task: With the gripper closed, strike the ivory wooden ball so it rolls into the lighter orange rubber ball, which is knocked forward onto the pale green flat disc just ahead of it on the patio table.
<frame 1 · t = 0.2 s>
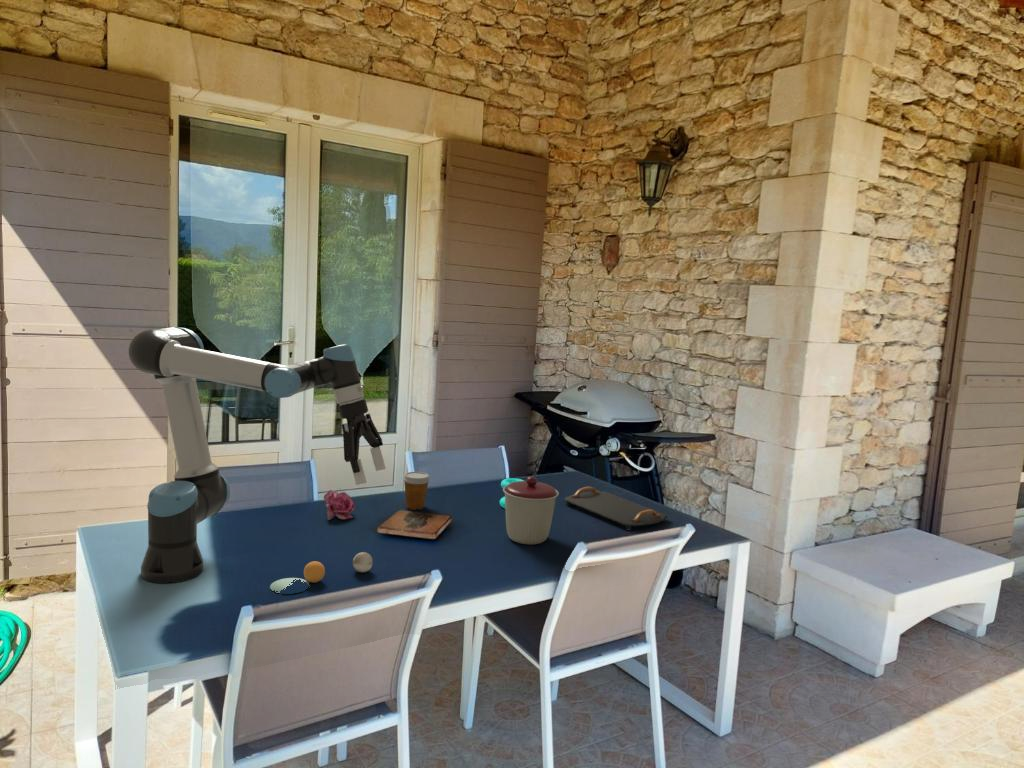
hand: (371, 476, 195), 28 cm above the table, tool tilted 20°, fingers open, 13 cm apart
serving board: (613, 514, 267), on the table
orange ball: (314, 571, 190), on the table
canister: (527, 539, 233), on the table
pale green flat disc: (290, 586, 187), on the table
disposable coffee cup: (414, 507, 258), on the table
flower: (339, 517, 242), on the table
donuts: (512, 507, 266), on the table
ivory ball: (362, 562, 199), on the table
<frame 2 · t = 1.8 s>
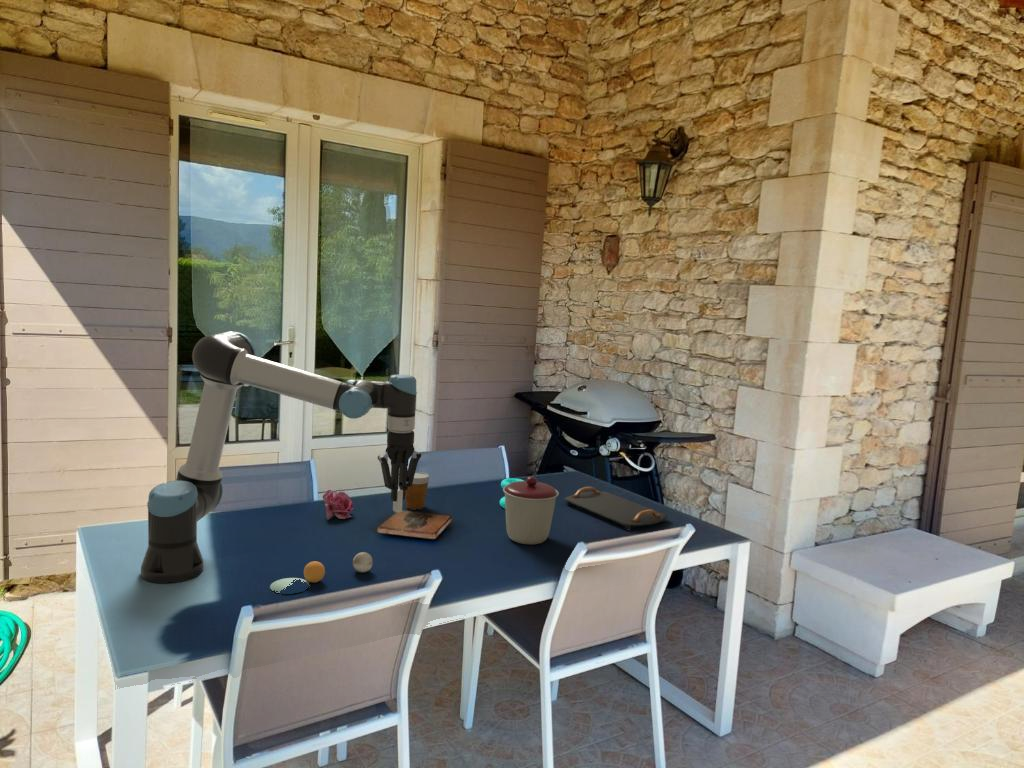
hand: (397, 511, 203), 16 cm above the table, tool pointing down, fingers closed
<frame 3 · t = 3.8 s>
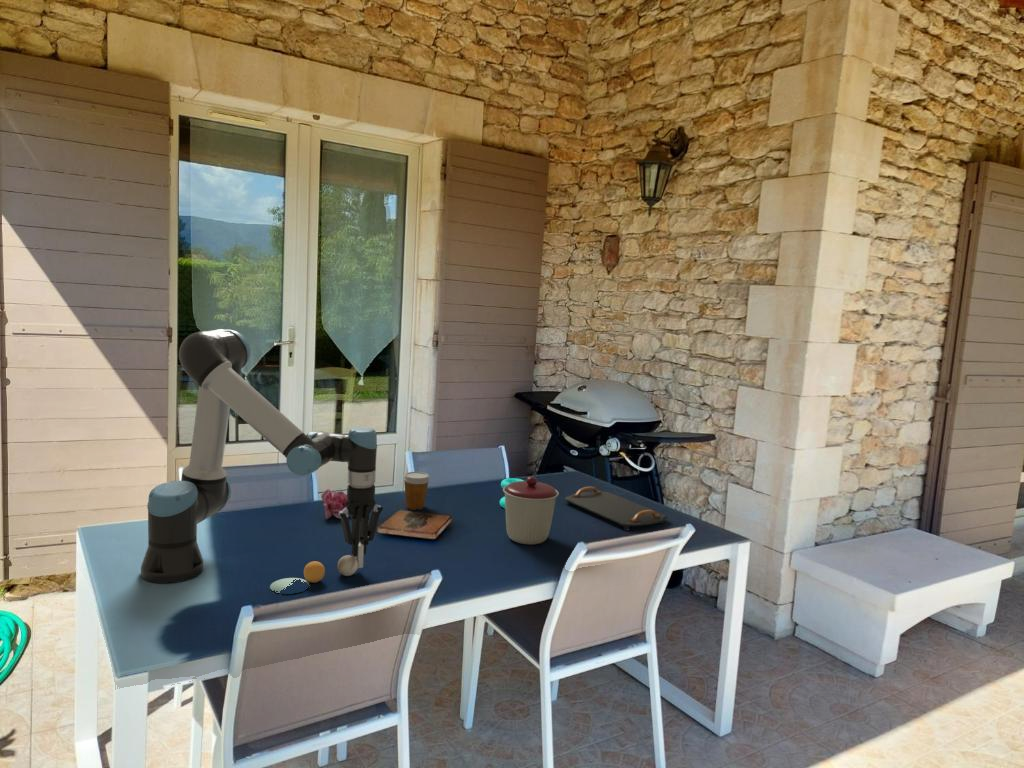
hand: (358, 566, 199), 2 cm above the table, tool pointing down, fingers closed
ivory ball: (347, 565, 196), on the table, touching gripper
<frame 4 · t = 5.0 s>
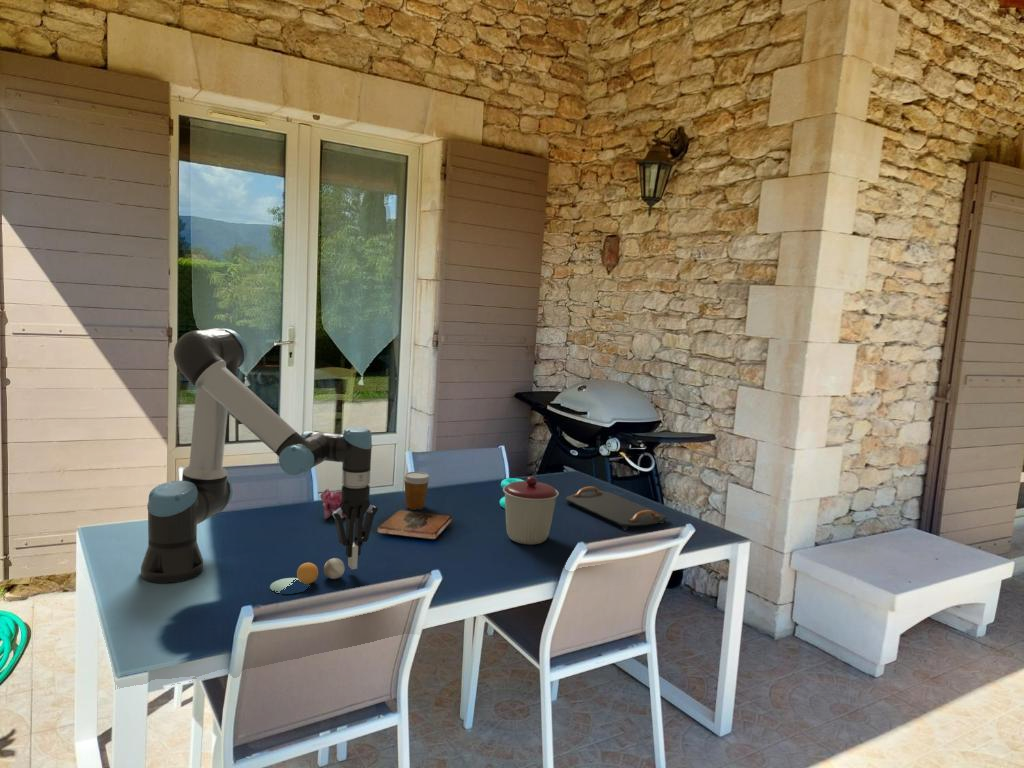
hand: (352, 567, 197), 2 cm above the table, tool pointing down, fingers closed
orange ball: (307, 573, 189), on the table
ivory ball: (334, 568, 193), on the table
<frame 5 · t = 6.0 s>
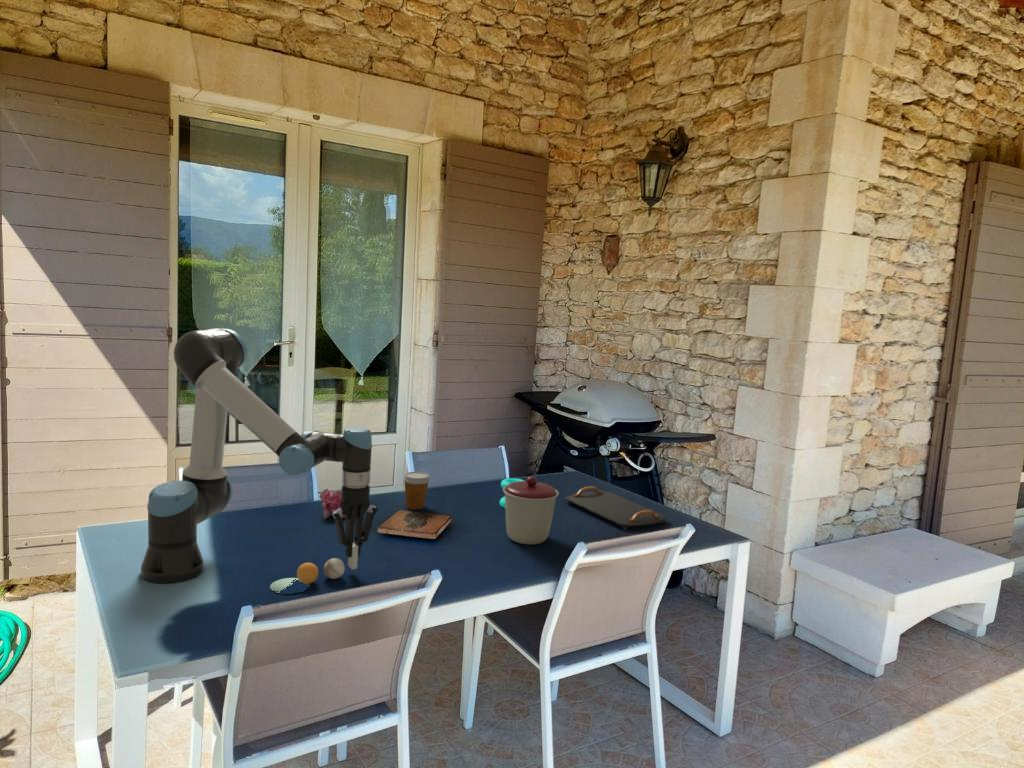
hand: (352, 567, 197), 2 cm above the table, tool pointing down, fingers closed
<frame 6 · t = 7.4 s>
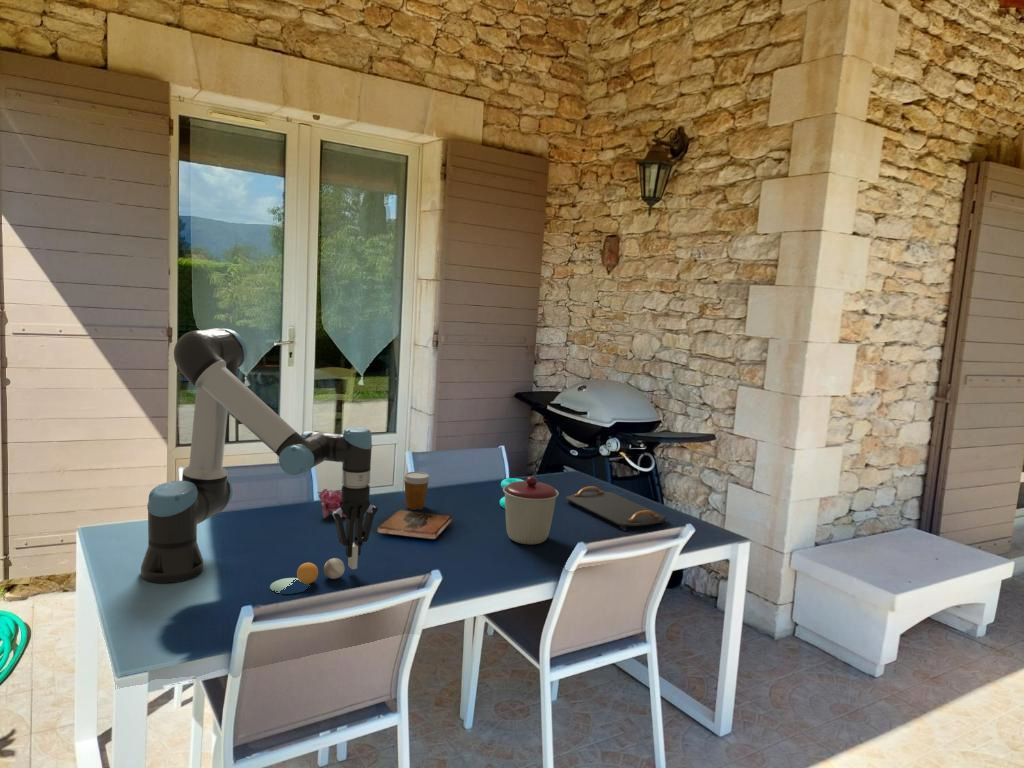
hand: (352, 567, 197), 2 cm above the table, tool pointing down, fingers closed
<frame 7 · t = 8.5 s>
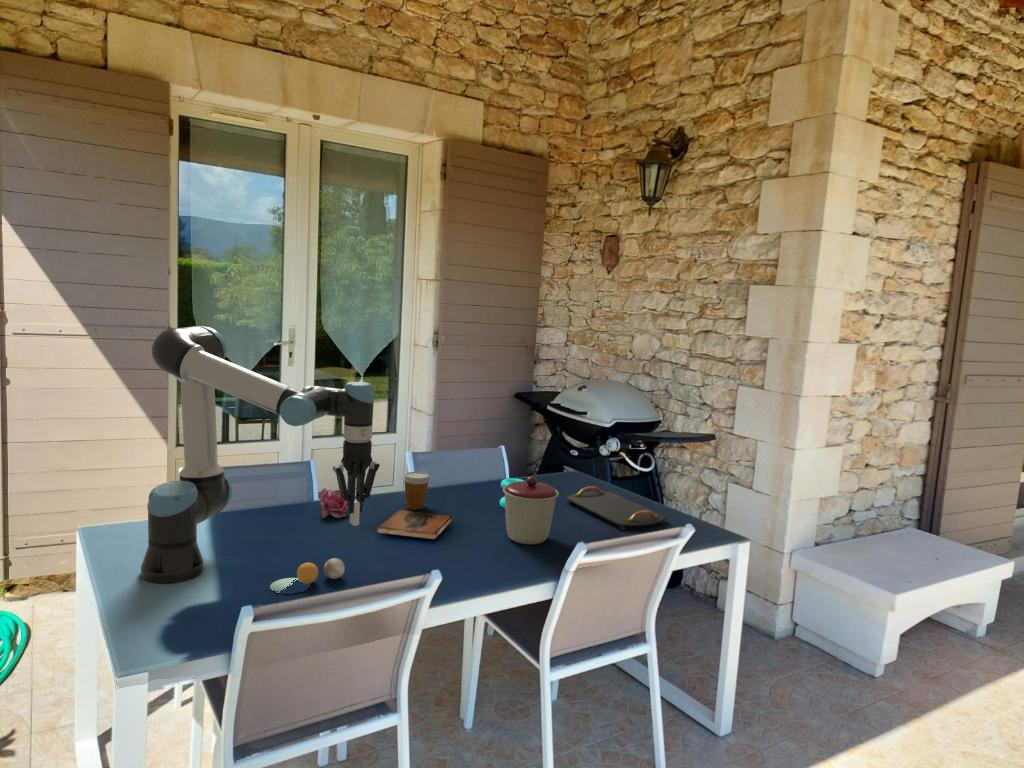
hand: (354, 523, 195), 14 cm above the table, tool pointing down, fingers closed
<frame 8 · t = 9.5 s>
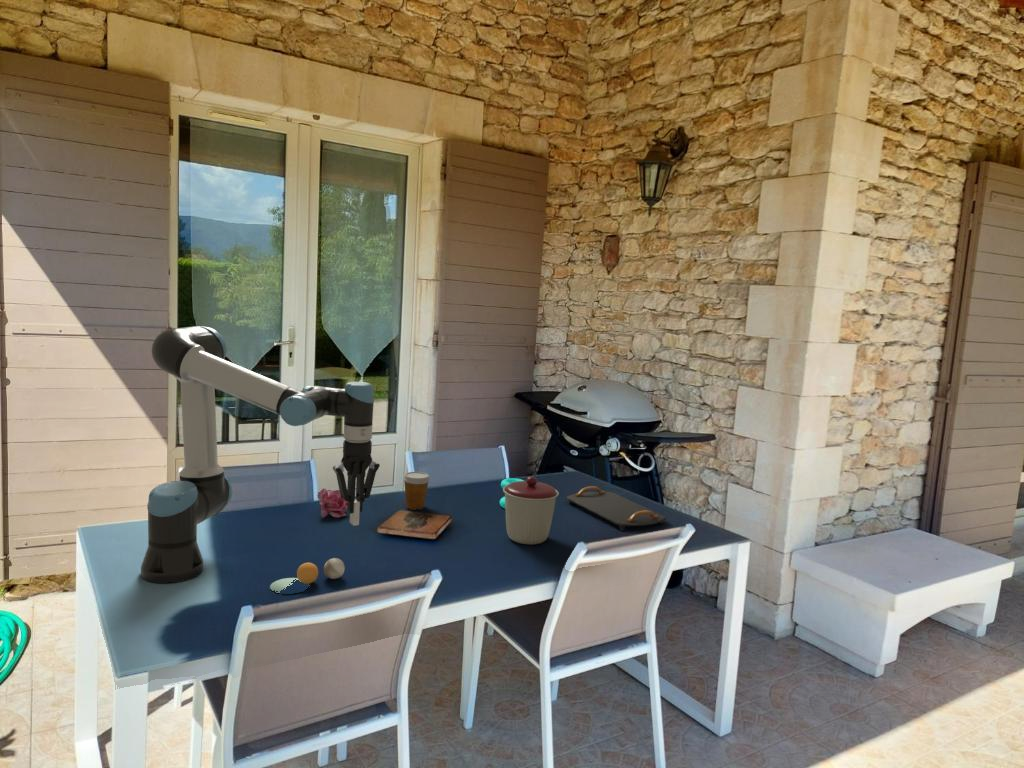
hand: (354, 523, 195), 14 cm above the table, tool pointing down, fingers closed
at the end: orange ball 4.6 cm from the pale green flat disc (horizontally); orange ball never touched the robot; ivory ball first touched orange ball at 4.1 s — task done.
